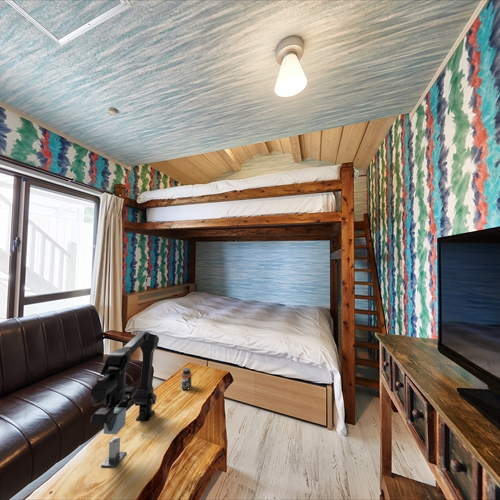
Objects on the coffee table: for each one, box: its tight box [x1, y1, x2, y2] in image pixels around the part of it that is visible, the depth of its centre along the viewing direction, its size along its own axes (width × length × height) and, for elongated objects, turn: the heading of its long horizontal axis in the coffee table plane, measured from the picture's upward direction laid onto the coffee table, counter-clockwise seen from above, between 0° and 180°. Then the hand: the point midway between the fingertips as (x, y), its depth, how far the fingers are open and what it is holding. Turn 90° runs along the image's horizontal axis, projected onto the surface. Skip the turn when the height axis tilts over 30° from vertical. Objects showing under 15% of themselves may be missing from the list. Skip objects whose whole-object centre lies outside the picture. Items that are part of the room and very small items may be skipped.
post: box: [100, 436, 127, 469], centre depth 83 cm, size 6×6×8 cm
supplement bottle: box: [181, 367, 192, 390], centre depth 131 cm, size 6×6×11 cm
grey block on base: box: [103, 406, 127, 435], centre depth 84 cm, size 5×5×7 cm
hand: (115, 425), depth 84 cm, fingers closed on grey block on base, 5 cm apart
